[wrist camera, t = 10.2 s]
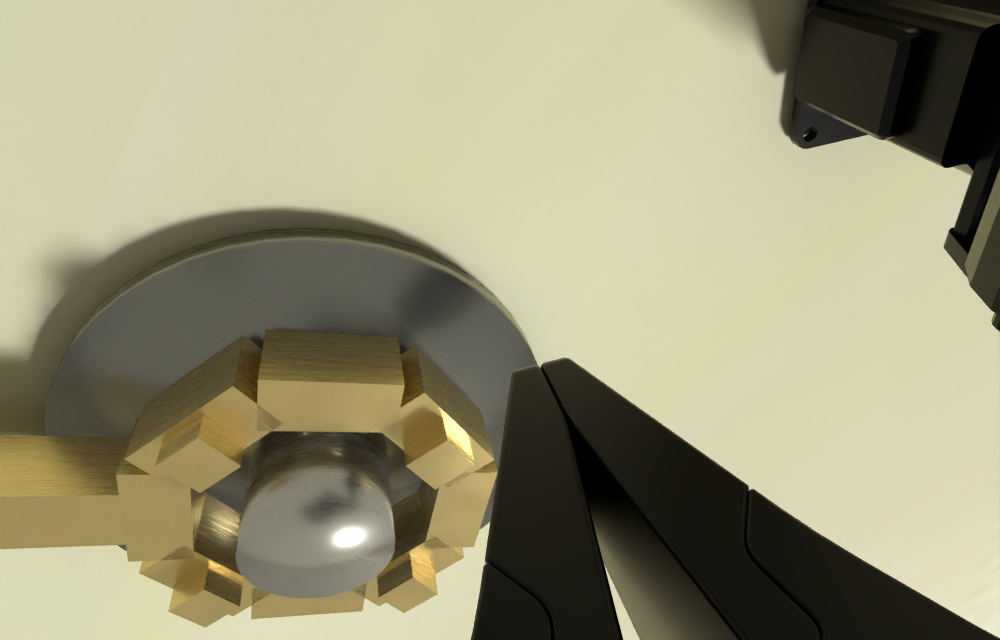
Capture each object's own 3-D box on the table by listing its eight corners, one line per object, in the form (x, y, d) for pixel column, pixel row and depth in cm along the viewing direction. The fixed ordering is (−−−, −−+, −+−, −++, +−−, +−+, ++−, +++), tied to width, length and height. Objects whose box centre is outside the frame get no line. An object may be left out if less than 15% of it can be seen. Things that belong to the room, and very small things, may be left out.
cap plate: (509, 173, 20) (558, 255, 16) (557, 510, 31) (594, 615, 26) (-73, 305, 19) (-199, 437, 14) (191, 611, 29) (166, 740, 25)
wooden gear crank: (507, 343, 22) (532, 410, 19) (446, 553, 28) (458, 626, 26) (-247, 298, 16) (-370, 386, 13) (-112, 578, 22) (-176, 679, 20)
